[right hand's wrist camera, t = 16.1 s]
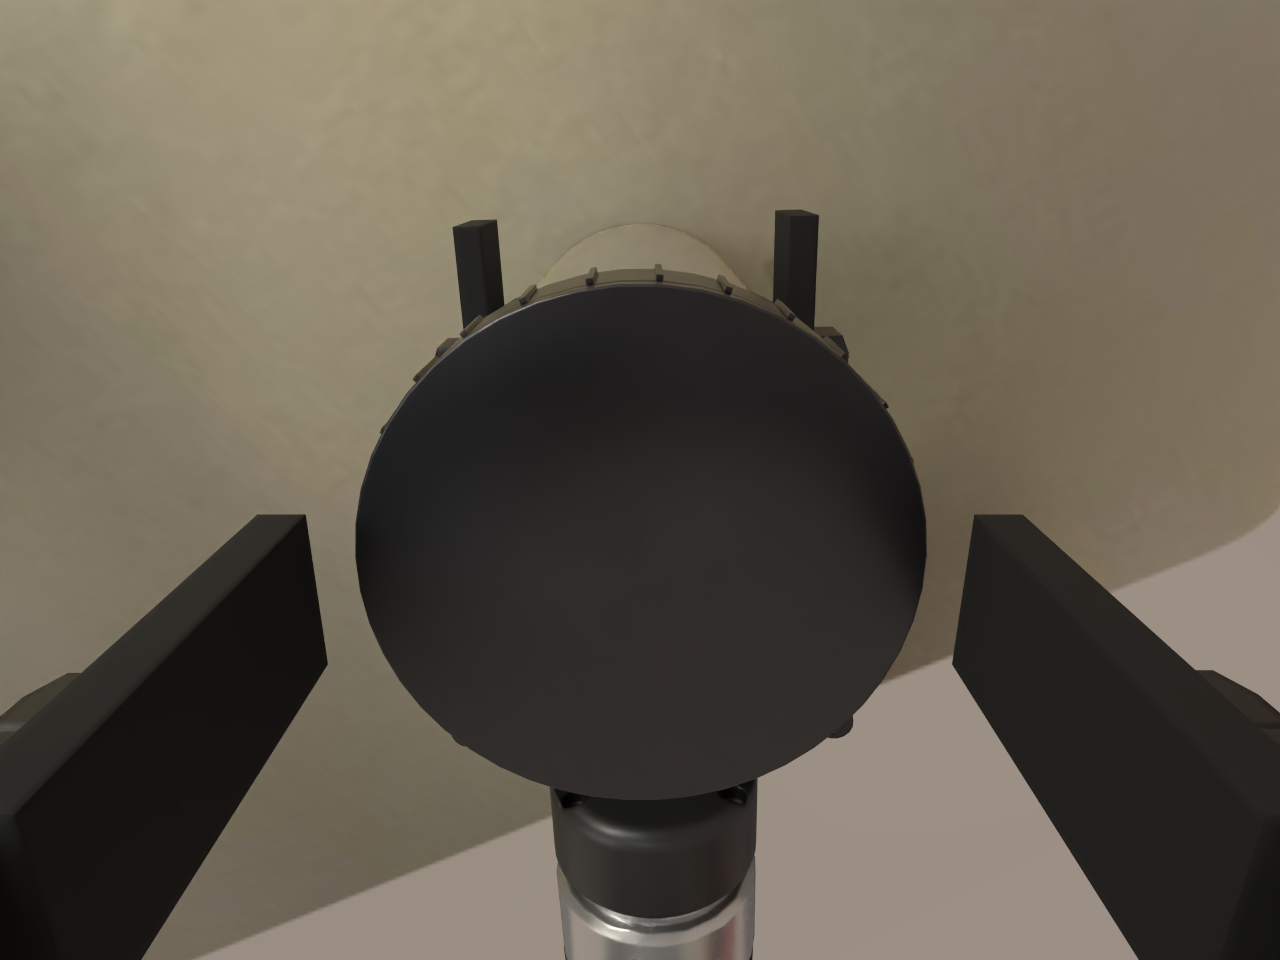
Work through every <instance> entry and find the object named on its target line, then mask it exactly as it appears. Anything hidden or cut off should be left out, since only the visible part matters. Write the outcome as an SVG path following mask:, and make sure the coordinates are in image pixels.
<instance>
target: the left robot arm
mask: <svg viewBox="0 0 1280 960" xmlns="http://www.w3.org/2000/svg"><path fill="white" fill-rule="evenodd" d="M818 222H819V215H816V214H813V213H810V212H807V211H803V210H775V245H774V285H773V303H775V301H776V299H778V300H780V301H782V302H783V303H784V304H785V305H786V306H787V307H788V308H789V309H790V310H791V311H792V312H793V313H794V314H795V315H796V317H797V318H798V319H799V320H800V321H802V322H803V323H804V324H805V325H807V326H808V327H809V328H810V329H812V330H813V331H814V332H815V333H817V334H818V335H819V336H820V337H822V338H824V337H825V336H826V335H827V336H828V337H829V338H830V339H831V340H832V341H833V342H834V343H835V344H836V345H837V346H838V347H840V348H841V349H842V350H843V351H844V352H845V353H846V354H847V355H848V354H849V352H848V350H847V347H846V344H845V341H844V338H843V336H842V335H841V334H840V333H839V332H838V331H837V330H835V329H834V328H833V327H814V316H815V293H816V269H817V246H818ZM453 235H454V244H455V254H456V263H457V273H458V282H459V291H460V301H461V310H462V319H463V329H465V328H466V327H467V326H468V325H469V324H470V323H471V322H472V321H473V320H474V319H475V318H477V317H478V316H479V315H481V316H482V317H483V319H484V318H485V317H486V316H488V315H490V314H491V313H493V312H495V311H496V310H498V309H500V308H501V307H503V306H504V296H503V284H502V273H501V262H500V250H499V239H498V228H497V220H472V221H469V222H466V223H463V224H460V225H458V226H455V227H453ZM458 339H459V338H448V339H447V340H446V341H445V342H443V343H442V344H441V345H440V346H439V347H438V348H437V351H436V355H435V356H437V357H438V358H440V357H441V356H442V355H443V354H444V353H445V352H446V351H447V350H448V349H449V348H450V347H451V346H452V345H453V344H454V343H455V342H456V341H457V340H458ZM846 362H847V363H848V359H847V360H846ZM852 727H853V715H852V716H851V717H850V718H849V719H848V720H847V721H846V722H845V723H844V724H843V725H842V726H841V727H840V728H839V729H838V730H836V731H835V732H834V733H832V734H831V735H830V736H829V737H828V738H840V737H843V736H845V735H846V734H847V733H849V732H850V730H851V729H852ZM452 737H453V736H452ZM453 739H454V740H455V741H456V742H457V743H459V744H460V745H462V746H465V745H464V744H463V743H461V742H460V741H459V740H457V739H456V738H455V737H453ZM466 747H467V746H466ZM550 795H551V806H552V818H553V829H554V841H555V850H556V856H557V860H558V865H557V878H558V888H559V898H560V908H561V918H562V927H563V937H564V951H565V958H566V960H752V954H753V940H754V919H755V856H754V853H755V847H756V819H757V778H756V779H753V780H750V781H747V782H744V783H741V784H738V785H735V786H732V787H729V788H726V789H723V790H718V791H713V792H709V793H704V794H700V795H695V796H689V797H680V798H671V799H662V800H621V799H611V798H601V797H592V796H587V795H583V794H578V793H573V792H568V791H563V790H559V789H556V788H553V787H550Z"/></svg>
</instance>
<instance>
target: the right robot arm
mask: <svg viewBox="0 0 1280 960" xmlns="http://www.w3.org/2000/svg"><path fill="white" fill-rule="evenodd" d="M327 665H328V662H327V655H326V649H325V642H324V635H323V628H322V622H321V615H320V608H319V601H318V595H317V588H316V581H315V574H314V568H313V561H312V554H311V548H310V541H309V534H308V527H307V521H306V515H256V516H255V517H254V518H253V519H252V520H251V521H250V522H249V523H248V524H246V525H245V526H244V527H243V528H242V529H241V530H240V531H239V532H238V533H236V534H235V535H234V536H233V537H232V538H231V539H230V540H229V541H228V542H226V543H225V544H224V545H223V546H222V547H221V548H220V549H219V550H218V551H216V552H215V553H214V554H213V555H212V556H211V557H210V558H209V559H208V560H206V561H205V562H204V563H203V564H202V565H201V566H200V567H199V568H198V569H196V570H195V571H194V572H193V573H192V574H191V575H190V576H189V577H188V578H186V579H185V580H184V581H183V582H182V583H181V584H180V585H179V586H178V587H176V588H175V589H174V590H173V591H172V592H171V593H170V594H169V595H168V596H166V597H165V598H164V599H163V600H162V601H161V602H160V603H159V604H158V605H156V606H155V607H154V608H153V609H152V610H151V611H150V612H149V613H148V614H146V615H145V616H144V617H143V618H142V619H141V620H140V621H139V622H138V623H136V624H135V625H134V626H133V627H132V628H131V629H130V630H129V631H128V632H126V633H125V634H124V635H123V636H122V637H121V638H120V639H119V640H118V641H116V642H115V643H114V644H113V645H112V646H111V647H110V648H109V649H108V650H106V651H105V652H104V653H103V654H102V655H101V656H100V657H99V658H98V659H96V660H95V661H94V662H93V663H92V664H91V665H90V666H89V667H88V668H86V669H85V670H84V671H83V672H82V673H67V674H65V675H63V676H62V677H60V678H58V679H56V680H54V681H52V682H51V683H49V684H47V685H45V686H43V687H41V688H39V689H38V690H36V691H34V692H32V693H30V694H28V695H26V696H25V697H23V698H22V699H20V700H19V701H18V702H17V703H16V704H15V705H13V706H12V707H11V708H10V709H9V710H7V711H6V712H5V713H4V714H3V715H2V716H0V960H141V959H142V958H143V956H144V954H145V953H146V951H147V950H148V948H149V947H150V945H151V943H152V942H153V940H154V939H155V937H156V935H157V934H158V932H159V931H160V929H161V928H162V926H163V924H164V923H165V921H166V920H167V918H168V916H169V915H170V913H171V912H172V910H173V909H174V907H175V905H176V904H177V902H178V901H179V899H180V897H181V896H182V894H183V893H184V891H185V890H186V888H187V886H188V885H189V883H190V882H191V880H192V878H193V877H194V875H195V874H196V872H197V871H198V869H199V867H200V866H201V864H202V863H203V861H204V859H205V858H206V856H207V855H208V853H209V852H210V850H211V848H212V847H213V845H214V844H215V842H216V840H217V839H218V837H219V836H220V834H221V833H222V831H223V829H224V828H225V826H226V825H227V823H228V821H229V820H230V818H231V817H232V815H233V814H234V812H235V810H236V809H237V807H238V806H239V804H240V803H241V801H242V799H243V798H244V796H245V795H246V793H247V791H248V790H249V788H250V787H251V785H252V784H253V782H254V780H255V779H256V777H257V776H258V774H259V772H260V771H261V769H262V768H263V766H264V765H265V763H266V761H267V760H268V758H269V757H270V755H271V753H272V752H273V750H274V749H275V747H276V746H277V744H278V742H279V741H280V739H281V738H282V736H283V734H284V733H285V731H286V730H287V728H288V727H289V725H290V723H291V722H292V720H293V719H294V717H295V715H296V714H297V712H298V711H299V709H300V708H301V706H302V704H303V703H304V701H305V700H306V698H307V696H308V695H309V693H310V692H311V690H312V689H313V687H314V685H315V684H316V682H317V681H318V679H319V677H320V676H321V674H322V673H323V671H324V670H325V668H326V666H327ZM952 665H953V666H954V668H955V670H956V671H957V673H958V674H959V676H960V677H961V679H962V681H963V682H964V684H965V685H966V687H967V689H968V690H969V692H970V693H971V695H972V696H973V698H974V700H975V701H976V703H977V704H978V706H979V708H980V709H981V711H982V712H983V714H984V715H985V717H986V719H987V720H988V722H989V723H990V725H991V727H992V728H993V730H994V731H995V733H996V734H997V736H998V738H999V739H1000V741H1001V742H1002V744H1003V745H1004V747H1005V749H1006V750H1007V752H1008V753H1009V755H1010V757H1011V758H1012V760H1013V761H1014V763H1015V764H1016V766H1017V768H1018V769H1019V771H1020V772H1021V774H1022V776H1023V777H1024V779H1025V780H1026V782H1027V784H1028V785H1029V787H1030V788H1031V790H1032V791H1033V793H1034V795H1035V796H1036V798H1037V799H1038V801H1039V803H1040V804H1041V806H1042V807H1043V809H1044V810H1045V812H1046V814H1047V815H1048V817H1049V818H1050V820H1051V822H1052V823H1053V825H1054V826H1055V828H1056V829H1057V831H1058V833H1059V834H1060V836H1061V837H1062V839H1063V840H1064V842H1065V844H1066V845H1067V847H1068V848H1069V850H1070V851H1071V853H1072V855H1073V856H1074V858H1075V859H1076V861H1077V863H1078V864H1079V866H1080V867H1081V869H1082V871H1083V872H1084V874H1085V875H1086V877H1087V878H1088V880H1089V882H1090V883H1091V885H1092V886H1093V888H1094V890H1095V891H1096V893H1097V894H1098V896H1099V897H1100V899H1101V901H1102V902H1103V904H1104V905H1105V907H1106V909H1107V910H1108V912H1109V913H1110V915H1111V916H1112V918H1113V920H1114V921H1115V923H1116V924H1117V926H1118V928H1119V929H1120V931H1121V932H1122V934H1123V935H1124V937H1125V939H1126V940H1127V942H1128V943H1129V945H1130V947H1131V948H1132V950H1133V951H1134V953H1135V954H1136V956H1137V958H1138V959H1139V960H1280V713H1279V712H1278V711H1277V710H1276V709H1275V708H1273V707H1272V706H1271V705H1270V704H1269V703H1267V702H1266V701H1265V700H1264V699H1263V698H1262V697H1260V696H1259V695H1258V694H1256V693H1254V692H1252V691H1251V690H1249V689H1247V688H1245V687H1243V686H1241V685H1239V684H1237V683H1236V682H1234V681H1232V680H1230V679H1228V678H1226V677H1224V676H1223V675H1221V674H1219V673H1217V672H1215V671H1213V670H1195V669H1194V668H1192V667H1191V666H1190V665H1189V664H1188V663H1187V662H1186V661H1185V660H1184V659H1182V658H1181V657H1180V656H1179V655H1178V654H1177V653H1176V652H1175V651H1174V650H1172V649H1171V648H1170V647H1169V646H1168V645H1167V644H1166V643H1165V642H1163V641H1162V640H1161V639H1160V638H1159V637H1158V636H1157V635H1156V634H1155V633H1154V632H1152V631H1151V630H1150V629H1149V628H1148V627H1147V626H1146V625H1145V624H1143V623H1142V622H1141V621H1140V620H1139V619H1138V618H1137V617H1136V616H1135V615H1134V614H1132V613H1131V612H1130V611H1129V610H1128V609H1127V608H1126V607H1125V606H1123V605H1122V604H1121V603H1120V602H1119V601H1118V600H1117V599H1116V598H1115V597H1114V596H1112V595H1111V594H1110V593H1109V592H1108V591H1107V590H1106V589H1105V588H1104V587H1102V586H1101V585H1100V584H1099V583H1098V582H1097V581H1096V580H1095V579H1094V578H1092V577H1091V576H1090V575H1089V574H1088V573H1087V572H1086V571H1085V570H1084V569H1082V568H1081V567H1080V566H1079V565H1078V564H1077V563H1076V562H1075V561H1074V560H1072V559H1071V558H1070V557H1069V556H1068V555H1067V554H1066V553H1065V552H1064V551H1062V550H1061V549H1060V548H1059V547H1058V546H1057V545H1056V544H1055V543H1054V542H1052V541H1051V540H1050V539H1049V538H1048V537H1047V536H1046V535H1045V534H1044V533H1042V532H1041V531H1040V530H1039V529H1038V528H1037V527H1036V526H1035V525H1034V524H1032V523H1031V522H1030V521H1029V520H1028V519H1027V518H1026V517H1025V516H1024V515H974V521H973V527H972V534H971V541H970V548H969V554H968V561H967V568H966V574H965V581H964V588H963V595H962V601H961V608H960V615H959V622H958V628H957V635H956V642H955V648H954V655H953V662H952Z"/></svg>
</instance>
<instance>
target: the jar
mask: <svg viewBox="0 0 1280 960" xmlns="http://www.w3.org/2000/svg"><path fill="white" fill-rule="evenodd" d="M655 264H661V265H662V269H663V270H671V271H679V272H686V273H694V274H698V275H702V276H706V277H709V278H713V279H717V277H718V275H722V276H725V278H726V279H727V280H728V282H729V283H731V284H733V285H736V286H738V287H740V288H743V289H745V290H748V289H747V288H746V287H745V285H744V284H743V283H742V282H741V281H740V279H739V278H738V277H737V276H736V275H735V273H734V272H733V271H732V270H731V269H730V267H729V266H728V265H727V264H726V263H725V262H724V261H723V260H722V259H721V257H720V256H719V255H718V254H717V253H716V252H714V251H713V250H712V249H711V248H709V247H708V246H707V245H706V244H704V243H703V242H701V241H699V240H698V239H696V238H694V237H693V236H691V235H688V234H686V233H684V232H681V231H679V230H676V229H672V228H669V227H665V226H660V225H652V224H629V225H622V226H616V227H613V228H609V229H606V230H602V231H600V232H598V233H595V234H593V235H591V236H589V237H587V238H585V239H584V240H582V241H581V242H579V243H577V244H576V245H574V246H573V247H572V248H571V249H570V250H568V251H567V252H566V253H565V254H564V255H563V256H562V257H561V258H560V259H559V260H558V261H557V262H556V263H555V264H554V266H553V267H552V268H551V269H550V270H549V272H548V273H547V274H546V275H545V276H544V278H543V279H542V280H541V281H540V282H539V284H538V285H537V286H536V287H537V289H539V288H541V287H544V286H546V285H548V284H551V283H555V282H558V281H562V280H565V279H569V278H573V277H576V276H580V275H583V274H588V273H589V270H590V268H593V267H597V271H598V272H603V271H610V270H618V269H655ZM748 291H749V290H748Z"/></svg>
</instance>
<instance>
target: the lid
mask: <svg viewBox="0 0 1280 960" xmlns="http://www.w3.org/2000/svg"><path fill="white" fill-rule="evenodd" d="M460 335H461V338H459V339H458V340H457V341H456V342H455V343H454V344H453V345H452V346H451V347H450V348H449V349H448V350H447V351H446V352H445V353H444V354H443V355H442V356H441V357H440V358H438V357H437V356H435V357H434V358H433V359H432V360H431V361H430V362H429V363H428V364H427V365H426V366H425V367H424V368H423V369H422V370H421V371H420V372H419V373H418V374H416V376H415V377H414V378H413V380H414V381H415V382H416V384H415V385H414V386H413V387H412V388H411V389H410V390H409V391H408V392H407V394H406V395H405V397H404V398H403V400H402V401H401V403H400V404H399V406H398V407H397V409H396V410H395V412H394V413H393V415H392V416H391V418H390V419H389V420H388V422H387V423H386V424H385V425H384V426H383V427H382V429H381V431H380V433H381V436H380V438H379V440H378V442H377V445H376V447H375V449H374V451H373V453H372V455H371V458H370V461H369V464H368V468H367V471H366V474H365V477H364V481H363V484H362V487H361V491H360V498H359V504H358V511H357V517H356V542H355V558H356V565H357V572H358V579H359V586H360V592H361V596H362V599H363V603H364V606H365V609H366V613H367V616H368V620H369V623H370V626H371V628H372V630H373V632H374V635H375V637H376V639H377V641H378V644H379V646H380V648H381V650H382V653H383V654H384V656H385V658H386V659H387V661H388V663H389V664H390V666H391V667H392V669H393V671H394V672H395V674H396V676H397V677H398V679H399V680H400V682H401V683H402V684H403V686H404V687H405V688H406V689H407V691H408V692H409V693H410V694H411V695H412V697H413V698H414V699H415V700H416V702H417V703H418V704H419V705H420V707H421V708H422V709H423V710H424V711H426V712H427V713H428V714H429V715H430V716H431V717H432V718H433V719H434V720H435V721H436V722H437V723H438V724H439V725H440V726H441V727H442V728H443V729H444V730H445V731H447V732H448V733H449V734H451V735H452V736H453V737H455V738H456V739H457V740H459V741H460V742H461V743H463V744H464V745H465V746H467V747H468V748H469V749H471V750H472V751H474V752H476V753H477V754H479V755H481V756H482V757H484V758H486V759H487V760H489V761H491V762H493V763H494V764H496V765H498V766H499V767H502V768H504V769H506V770H508V771H511V772H513V773H515V774H517V775H520V776H522V777H524V778H526V779H528V780H531V781H534V782H538V783H541V784H544V785H547V786H550V787H553V788H556V789H559V790H563V791H568V792H573V793H578V794H583V795H587V796H592V797H601V798H611V799H621V800H662V799H671V798H680V797H689V796H695V795H700V794H704V793H709V792H713V791H718V790H723V789H726V788H729V787H732V786H735V785H738V784H741V783H744V782H747V781H750V780H753V779H756V778H758V777H760V776H763V775H765V774H767V773H769V772H771V771H773V770H776V769H778V768H780V767H782V766H784V765H786V764H788V763H790V762H791V761H793V760H794V759H796V758H798V757H800V756H801V755H803V754H805V753H806V752H808V751H809V750H811V749H813V748H814V747H816V746H817V745H818V744H819V743H821V742H822V741H823V740H825V739H826V738H827V737H829V736H830V735H831V734H832V733H834V732H835V731H836V730H838V729H839V728H840V727H841V726H842V725H843V724H844V723H845V722H846V721H847V720H848V719H849V718H850V717H851V716H852V715H853V714H854V713H855V712H856V711H857V710H858V709H859V708H860V707H861V706H862V705H863V704H864V703H865V702H866V701H867V699H868V698H869V697H870V696H871V694H872V693H873V692H874V690H875V689H876V688H877V687H878V685H879V684H880V683H881V682H882V680H883V679H884V677H885V676H886V674H887V672H888V671H889V669H890V667H891V666H892V664H893V662H894V661H895V659H896V657H897V656H898V654H899V652H900V651H901V648H902V646H903V644H904V641H905V639H906V637H907V634H908V632H909V630H910V628H911V625H912V623H913V621H914V617H915V613H916V610H917V606H918V602H919V599H920V595H921V592H922V588H923V580H924V572H925V564H926V557H927V538H926V516H925V510H924V504H923V498H922V492H921V486H920V483H919V480H918V477H917V474H916V471H915V468H914V465H913V463H914V462H913V459H912V457H911V455H910V452H909V450H908V448H907V446H906V444H905V442H904V440H903V438H902V436H901V434H900V432H899V430H898V428H897V426H896V424H895V422H894V420H893V419H892V417H891V416H890V414H889V413H888V411H887V410H886V409H887V408H888V407H889V406H888V405H887V403H886V402H885V401H884V400H883V399H882V398H881V397H880V396H879V395H878V394H877V393H876V392H875V391H874V390H873V389H872V388H871V387H870V386H869V385H868V384H867V383H866V382H865V381H864V380H863V379H862V378H861V377H860V376H859V375H858V374H857V373H856V372H855V370H854V369H853V368H852V367H851V366H850V365H849V364H848V363H847V362H846V360H847V359H848V358H849V356H848V355H847V354H846V353H845V352H844V351H843V350H842V349H841V348H840V347H838V346H837V345H836V344H835V343H834V342H833V341H832V340H831V339H830V338H829V337H828V336H827V335H826V336H825V337H824V338H822V337H820V336H819V335H818V334H817V333H815V332H814V331H813V330H812V329H810V328H809V327H808V326H807V325H805V324H804V323H803V322H802V321H800V320H799V319H798V318H797V317H796V315H795V314H794V313H793V312H792V311H791V310H790V309H789V308H788V307H787V306H786V305H785V304H784V303H783V302H782V301H780V300H778V299H776V301H775V303H772V302H771V301H769V300H767V299H766V298H764V297H762V296H759V295H757V294H755V293H752V292H750V291H748V290H745V289H743V288H740V287H738V286H736V285H733V284H731V283H729V282H728V280H727V279H726V278H725V276H722V275H718V277H717V279H713V278H709V277H706V276H702V275H698V274H694V273H686V272H679V271H671V270H663V269H662V265H661V264H655V269H618V270H610V271H603V272H598V271H597V267H593V268H590V270H589V273H588V274H583V275H580V276H576V277H573V278H569V279H565V280H562V281H558V282H555V283H551V284H548V285H546V286H544V287H541V288H539V289H537V287H536V285H535V284H534V285H532V286H530V287H529V288H528V289H527V290H526V291H525V292H524V294H523V295H522V296H521V297H518V298H516V299H514V300H513V301H511V302H509V303H508V304H506V305H504V306H503V307H501V308H500V309H498V310H496V311H495V312H493V313H491V314H490V315H488V316H486V317H485V318H484V319H483V317H482V316H481V315H479V316H478V317H477V318H475V319H474V320H473V321H472V322H471V323H470V324H469V325H468V326H467V327H466V328H465V329H464V330H463V331H462V332H461V333H460Z"/></svg>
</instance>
